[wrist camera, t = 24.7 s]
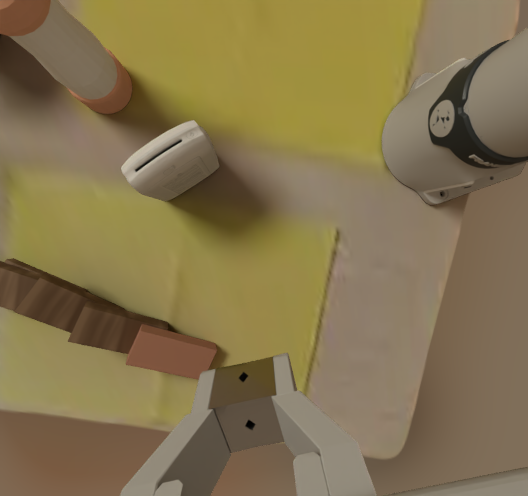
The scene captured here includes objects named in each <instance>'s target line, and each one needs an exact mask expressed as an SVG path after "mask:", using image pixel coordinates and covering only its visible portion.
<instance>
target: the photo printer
mask: <svg viewBox="0 0 528 496" xmlns="http://www.w3.org/2000/svg"><path fill="white" fill-rule="evenodd" d="M218 168H219V163H218V157H217V155H216V152H215V150H214V147H213V144H212V142H211V139H210V137H209V135H208V134H207V132H206V131H205V130H204V129H203V128H202V127H200V126H199V125H198V124H197V123H196V122H195V121H194V120H192V121H189V122H185V123H183V124H180V125H178V126H176V127H174V128H172V129H170V130H168V131H167V132H165V133H163V134H161V135H160V136H158V137H157V138H155V139H153V140H152V141H151V142H149V143H148V144H146V145H145V146H143V147H142V148H141V149H139V150H138V151H137V152H135V153H134V154H133V155H132V156H131V157H130V158H129V159H128V160H127V161H126V162H125V163H124V164H123V166H122V167H121V170H122V173H123V174H124V176H125V177H126V179H127V181H128V183H129V184H130V185H131V186H132V187H133V188H134V189H136V190H137V191H138V192H139V193H141V194H142V195H145V196H149V197H152V198H156V199H159V200H162V201H168V200H171V199H173V198H175V197H177V196H178V195H180V194H182V193H183V192H185V191H186V190H188V189H190V188H191V187H193V186H194V185H196V184H197V183H199V182H200V181H202V180H203V179H205V178H206V177H208V176H209V175H211V174H212V173H213V172H215V171H216V170H217V169H218Z"/></svg>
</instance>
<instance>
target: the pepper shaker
mask: <svg viewBox="0 0 528 496" xmlns="http://www.w3.org/2000/svg"><path fill="white" fill-rule="evenodd" d="M0 34H3V35H6V36H9V37H10V38H12V39H13V40H14V41H15V42H17V43H18V44H19V45H20V46H22V47H23V48H24V49H25V50H27V51H28V52H29V53H31V54H32V55H33V56H34V57H35V58H36V59H37V60H38V61H39V63H40V64H41V65H42V66H43V67H44V68H45V69H46V70H47V71H48V72H49V73H50V74H51V75H52V76H53V78H54V79H55V80H57V81H58V82H60V83H61V84H63V85H64V86H65V87H67V89H68V90H69V92H70V93H71V94H72V95H73V96H74V97H75V98H77V99H78V100H79V101H81V102H82V103H84V104H85V105H86V106H88V107H89V108H91V109H92V110H94V111H96V112H99V113H103V114H113V113H115V112H118V111H120V110H122V109H123V108H124V107H125V106H126V105H127V104H128V102H129V100H130V98H131V95H132V81H131V79H130V76H129V74H128V72H127V71H126V70H125V68H124V67H123V66H122V65H121V63H120V62H119V61H118V60H117V58H116V57H115V56H114V55H113V54H112V53H111V51H109V50H108V49H106V48H105V47H103V45H102V44H101V43H100V41H99V40H98V39H97V38H96V37H95V35H94V34H93V33H92V32H91V31H89V30H88V29H87V28H86V27H85V26H84V25H83V24H81V23H80V22H79V21H78V20H77V19H76V18H74V17H73V16H72V15H71V14H70V13H69V12H67V10H66V9H65V8H64V7H63V6H62V5H61V3H60V2H59V1H58V0H0Z"/></svg>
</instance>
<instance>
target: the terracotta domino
mask: <svg viewBox="0 0 528 496" xmlns="http://www.w3.org/2000/svg"><path fill="white" fill-rule="evenodd" d="M216 352H217V348H216V345H215V343H212V342H209V341H205V340H201V339H197V338H193V337H190V336H186V335H182V334H178V333H175V332H171V331H167V330H163V329H160V328H156V327H152V326H148V325H144V324H142V325H141V327H140V330H139V332H138V334H137V336H136V339H135V341H134V343H133V345H132V347H131V350H130V352H129V354H128V357H127V361H126V365H131V366H136V367H141V368H146V369H150V370H155V371H160V372H165V373H170V374H175V375H180V376H184V377H189V378H194V379H199V377H200V374H201V373H202V371H207V370H208V369H209V367H210V364H211V362H212V360H213V358H214V356H215V354H216Z"/></svg>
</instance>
